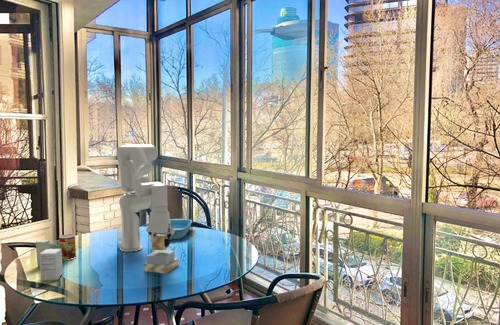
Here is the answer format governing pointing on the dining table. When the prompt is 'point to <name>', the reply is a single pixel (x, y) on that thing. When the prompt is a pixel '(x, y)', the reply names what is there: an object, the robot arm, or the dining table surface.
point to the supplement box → (51, 264)
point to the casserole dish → (179, 228)
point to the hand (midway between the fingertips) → (160, 245)
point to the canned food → (67, 246)
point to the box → (41, 248)
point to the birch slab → (162, 267)
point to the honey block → (158, 242)
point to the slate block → (160, 257)
